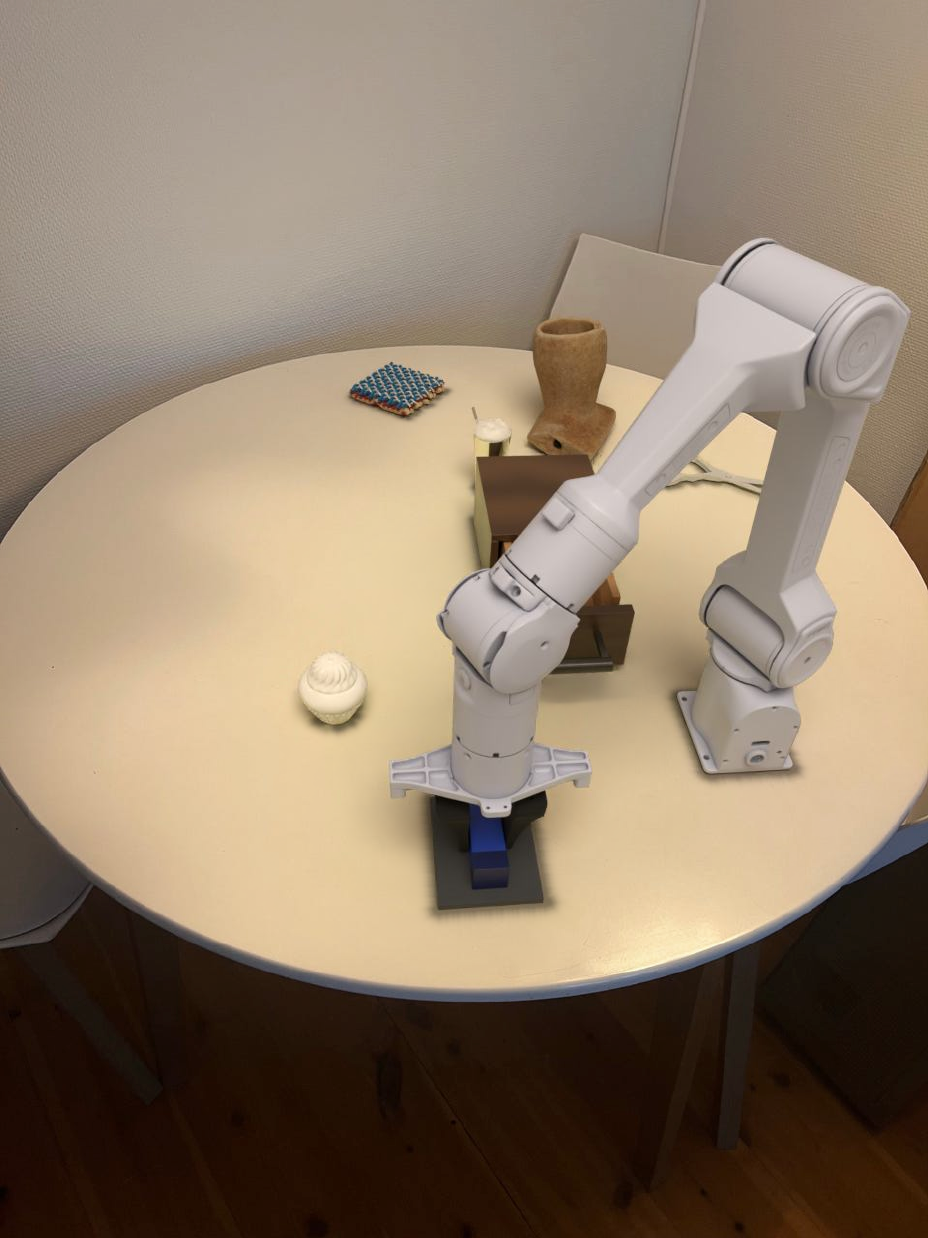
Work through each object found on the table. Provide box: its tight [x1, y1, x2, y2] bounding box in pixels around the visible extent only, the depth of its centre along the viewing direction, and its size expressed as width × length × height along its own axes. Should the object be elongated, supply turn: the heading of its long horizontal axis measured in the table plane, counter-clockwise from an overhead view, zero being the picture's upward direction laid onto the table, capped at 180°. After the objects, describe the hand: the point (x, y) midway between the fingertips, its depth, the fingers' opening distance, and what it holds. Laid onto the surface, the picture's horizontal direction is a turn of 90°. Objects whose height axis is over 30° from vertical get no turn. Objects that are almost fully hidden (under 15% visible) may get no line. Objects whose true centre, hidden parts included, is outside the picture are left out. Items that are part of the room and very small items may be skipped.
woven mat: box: [348, 361, 446, 416], centre depth 125 cm, size 10×11×2 cm
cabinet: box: [473, 454, 596, 569], centre depth 96 cm, size 15×13×9 cm
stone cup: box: [526, 316, 617, 461], centre depth 114 cm, size 15×12×15 cm
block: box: [468, 803, 510, 890], centre depth 69 cm, size 3×7×3 cm, turn 5°
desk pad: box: [429, 796, 545, 911], centre depth 70 cm, size 10×8×1 cm
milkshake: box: [471, 406, 513, 476], centre depth 106 cm, size 4×5×10 cm
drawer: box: [499, 541, 636, 676], centre depth 86 cm, size 18×11×7 cm, turn 5°
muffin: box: [297, 650, 369, 726], centre depth 78 cm, size 6×6×7 cm
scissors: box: [666, 456, 764, 494], centre depth 111 cm, size 11×1×20 cm
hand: (484, 839), depth 70 cm, fingers open, 3 cm apart
